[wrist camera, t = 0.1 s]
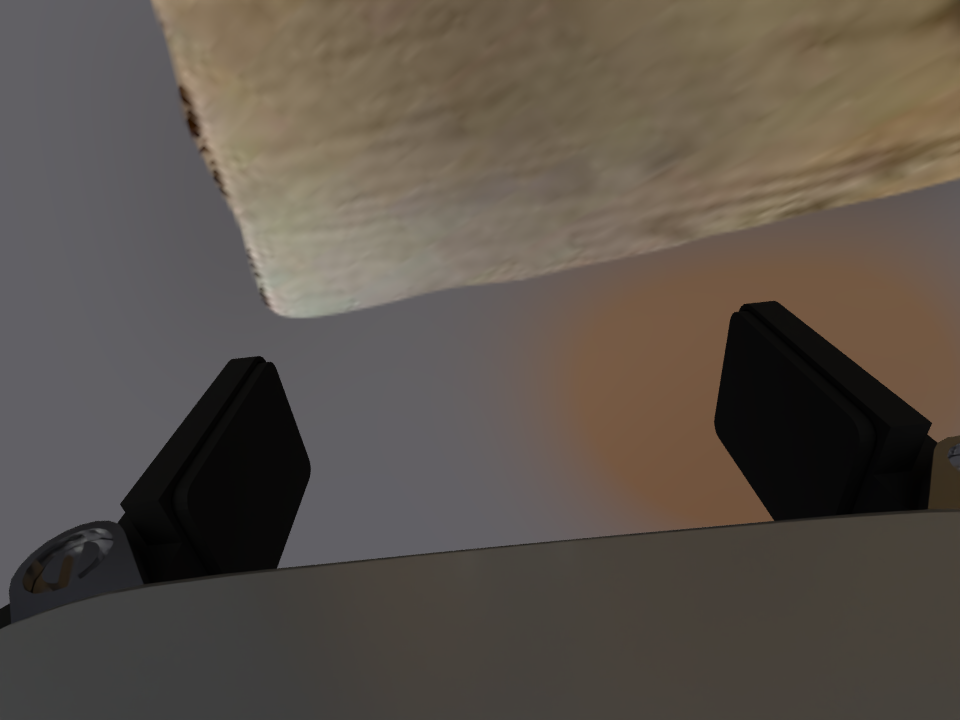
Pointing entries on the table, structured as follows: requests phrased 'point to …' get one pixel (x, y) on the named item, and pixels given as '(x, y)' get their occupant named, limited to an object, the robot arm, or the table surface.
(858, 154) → the table surface
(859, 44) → the table surface
